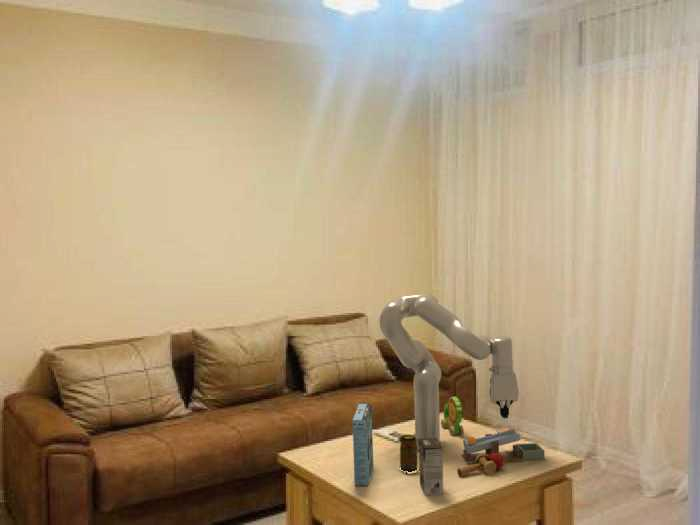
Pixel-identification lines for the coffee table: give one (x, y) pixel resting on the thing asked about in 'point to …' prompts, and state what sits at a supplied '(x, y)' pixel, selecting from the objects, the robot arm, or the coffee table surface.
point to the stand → (507, 456)
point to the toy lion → (453, 416)
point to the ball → (472, 441)
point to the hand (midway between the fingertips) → (504, 417)
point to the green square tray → (531, 451)
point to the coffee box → (431, 466)
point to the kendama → (483, 464)
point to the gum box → (362, 444)
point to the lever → (485, 442)
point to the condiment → (408, 453)
